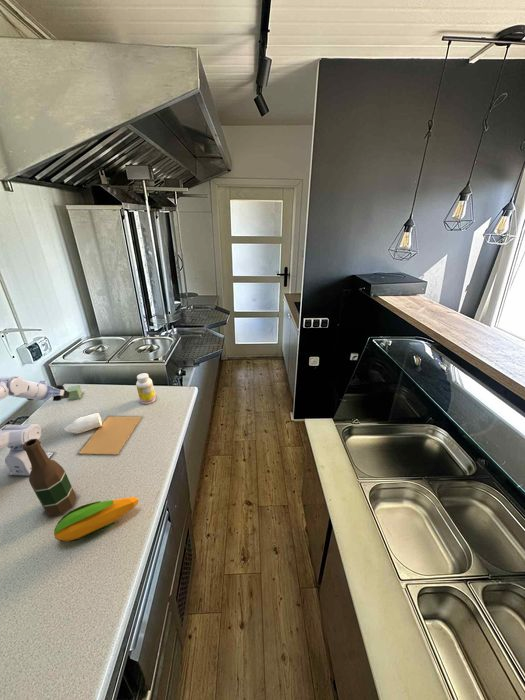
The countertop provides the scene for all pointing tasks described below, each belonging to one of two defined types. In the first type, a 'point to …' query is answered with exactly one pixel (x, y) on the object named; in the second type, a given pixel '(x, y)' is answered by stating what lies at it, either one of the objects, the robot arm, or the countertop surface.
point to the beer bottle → (49, 480)
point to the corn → (92, 518)
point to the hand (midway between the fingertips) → (58, 394)
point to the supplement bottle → (145, 388)
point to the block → (74, 392)
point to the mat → (110, 436)
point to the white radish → (84, 423)
